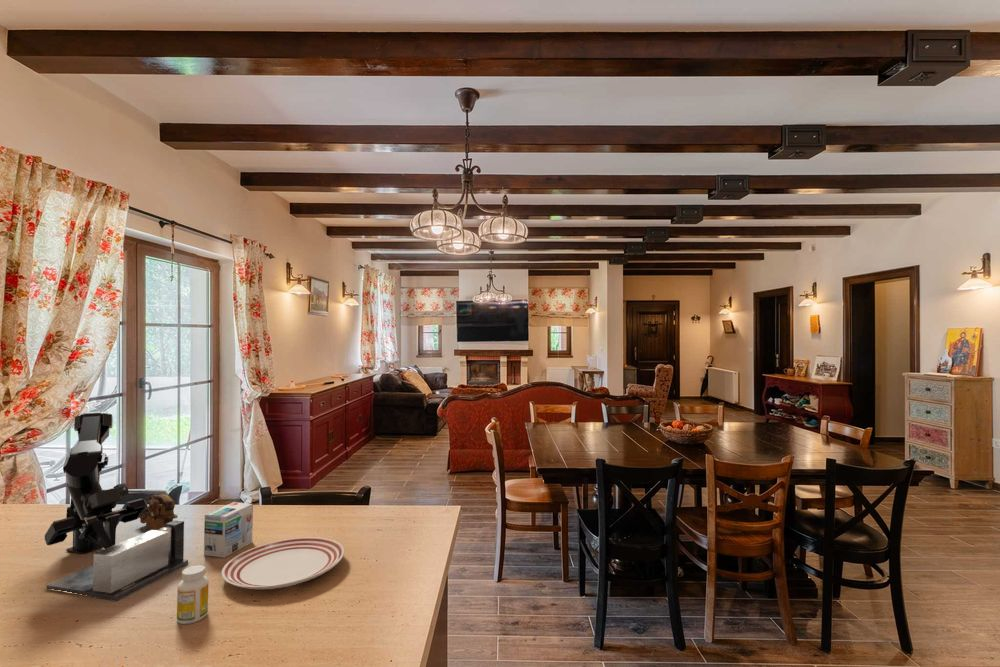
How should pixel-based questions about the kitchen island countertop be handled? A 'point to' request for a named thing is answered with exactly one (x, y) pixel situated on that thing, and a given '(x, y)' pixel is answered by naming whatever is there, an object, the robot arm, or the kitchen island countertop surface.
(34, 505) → the kitchen island countertop surface
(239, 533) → the light bulb box
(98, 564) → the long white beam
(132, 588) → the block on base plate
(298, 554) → the dinner plate
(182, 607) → the supplement bottle
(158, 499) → the wooden carving
